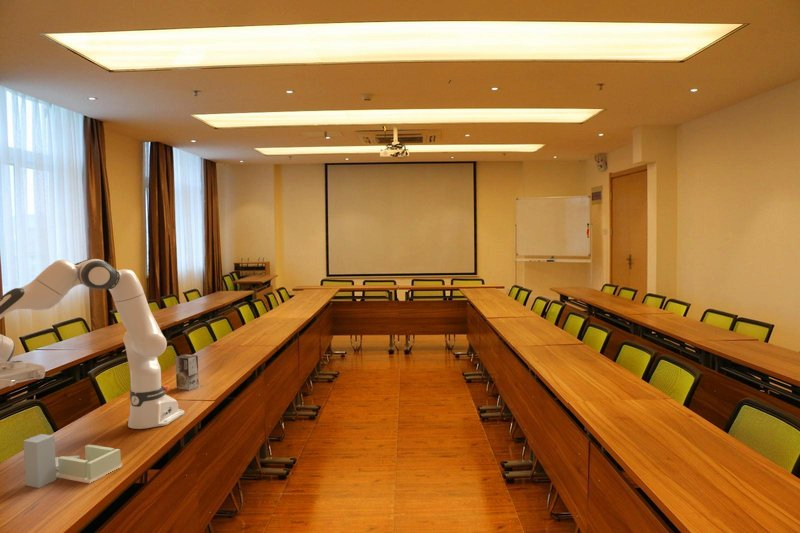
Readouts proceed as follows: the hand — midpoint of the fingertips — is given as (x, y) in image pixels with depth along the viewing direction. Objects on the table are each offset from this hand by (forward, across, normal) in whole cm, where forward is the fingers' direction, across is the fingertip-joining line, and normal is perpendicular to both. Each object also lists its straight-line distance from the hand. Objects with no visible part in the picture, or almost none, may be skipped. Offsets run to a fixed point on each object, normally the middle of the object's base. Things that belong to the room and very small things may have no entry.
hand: (28, 379), depth 164 cm
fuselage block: (+13, -5, +29) cm, 33 cm away
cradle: (+21, +4, +29) cm, 36 cm away
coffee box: (-11, +90, +27) cm, 95 cm away
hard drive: (+6, +5, +30) cm, 31 cm away
